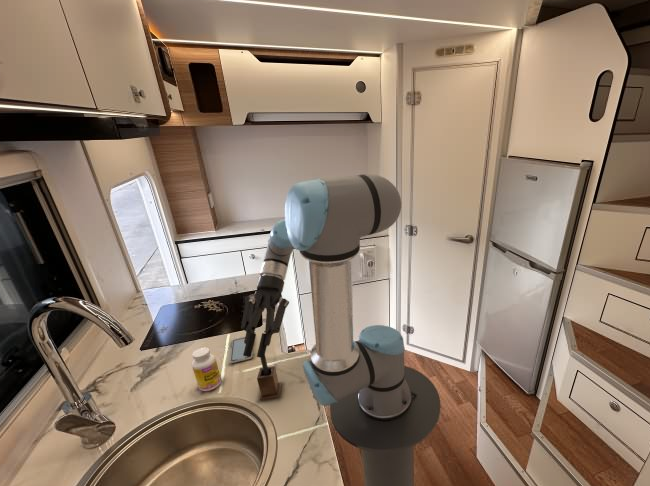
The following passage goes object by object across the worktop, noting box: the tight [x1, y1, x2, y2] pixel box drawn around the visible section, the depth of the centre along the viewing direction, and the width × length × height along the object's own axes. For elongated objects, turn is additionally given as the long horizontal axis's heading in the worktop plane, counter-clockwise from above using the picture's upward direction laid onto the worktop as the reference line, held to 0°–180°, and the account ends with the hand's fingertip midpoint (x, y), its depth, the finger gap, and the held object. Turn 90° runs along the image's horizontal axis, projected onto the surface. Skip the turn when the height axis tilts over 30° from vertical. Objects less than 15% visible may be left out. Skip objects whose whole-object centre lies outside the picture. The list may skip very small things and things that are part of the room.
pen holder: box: [256, 365, 282, 402], centre depth 96 cm, size 6×6×8 cm
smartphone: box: [229, 336, 254, 364], centre depth 119 cm, size 7×1×15 cm
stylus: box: [260, 355, 269, 376], centre depth 95 cm, size 1×1×14 cm
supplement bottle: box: [191, 347, 222, 392], centre depth 100 cm, size 7×7×13 cm
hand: (253, 356), depth 88 cm, fingers open, 3 cm apart
